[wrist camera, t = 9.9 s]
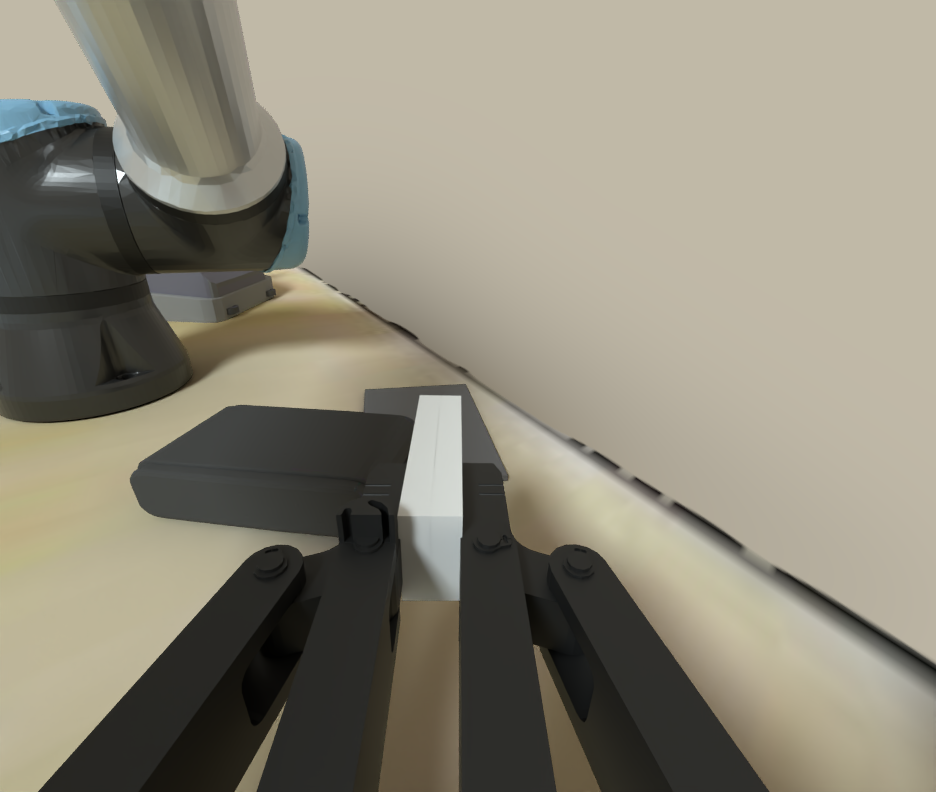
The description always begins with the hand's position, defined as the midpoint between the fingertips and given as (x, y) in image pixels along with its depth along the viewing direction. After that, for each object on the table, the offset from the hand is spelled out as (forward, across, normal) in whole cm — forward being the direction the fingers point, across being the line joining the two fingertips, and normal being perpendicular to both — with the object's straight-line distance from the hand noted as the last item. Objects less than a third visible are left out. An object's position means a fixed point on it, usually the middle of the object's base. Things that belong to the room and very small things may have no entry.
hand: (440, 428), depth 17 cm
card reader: (+8, -2, -8) cm, 11 cm away
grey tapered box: (+59, -41, -11) cm, 72 cm away
